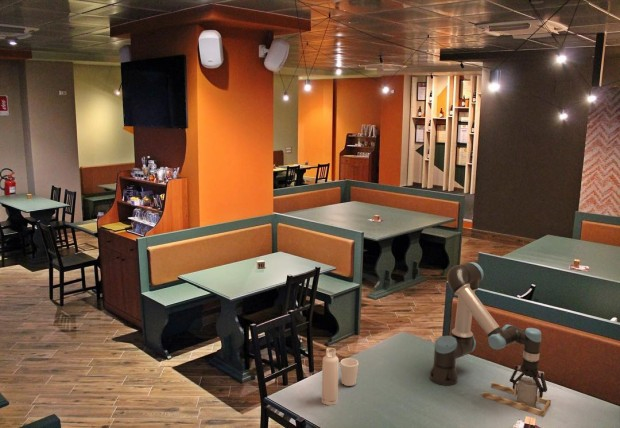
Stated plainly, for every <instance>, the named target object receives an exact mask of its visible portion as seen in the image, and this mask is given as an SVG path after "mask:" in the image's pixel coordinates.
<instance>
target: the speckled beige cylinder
mask: <svg viewBox="0 0 620 428" xmlns="http://www.w3.org/2000/svg"><path fill="white" fill-rule="evenodd" d="M517 383H518V389H517V395H516V400H515V402H518V403H521V402H522V403H525V405H527V406H530V407H533V408H536V407H537V402H536V401H537V396H538V391H539V389H538V387H537V385H536V383H535V381H534V380H533V378H531V377H529V376H523V377H521V378H520V379H519V380H518V381H517Z"/></svg>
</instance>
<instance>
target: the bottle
mask: <svg viewBox="0 0 620 428" xmlns="http://www.w3.org/2000/svg"><path fill="white" fill-rule="evenodd" d="M330 350H333V351H330ZM325 352H326V353H325V355H324V356H323V358H322V370H321V371H322V372H321V375H322V376H321V379H322V380H321V403H322V402H323V403H324V405H325V404H326V406H334V405H333V404H335V405H336V404H338V399H339V398H338V397H339V395H338V394H339V365H340V359H339V357H338V356H337V355H336V354H337V352H336V348H334V347H327V348H326V350H325ZM323 403H322V404H323Z"/></svg>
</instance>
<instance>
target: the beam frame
mask: <svg viewBox="0 0 620 428" xmlns="http://www.w3.org/2000/svg"><path fill="white" fill-rule="evenodd" d="M490 387H491V388H493V389H496V390H499V391H502V392H505V393H509V394H512V395H514V389H513V387H510V386H506V385H503V384H500V383H497V382H494V381H491V386H490ZM482 398H486V399H488V400H492V401H495V402H497V403H500V404H504V405H507V406H510V407H512V408H515V409H519V410H522V411H525V412H528V413H531V414H534V415H537V416H539V417H542V418H544V417H545V414H546V413H547V412H548V410H549V408H550V406H551V402H552V400H551V399H548V398H544V397H542V398H540V402H539V404H543V405H544V406H543V408H541V409H539V408H536V407H535V408H533V407H530V406H527V405H525V403H522V402H521V403H518V402H516V400H515V401H514V400H512V399H509V398H505V397H502V396H499V395H497V394H493V393H490V392H487V391H483V392H482ZM536 403H537V401H536Z"/></svg>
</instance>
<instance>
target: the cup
mask: <svg viewBox="0 0 620 428" xmlns="http://www.w3.org/2000/svg"><path fill="white" fill-rule="evenodd" d="M359 363H360V362H359V361H358V360H357V359H356V358H352V357H350V358H349V357H347V358H343V359H341V360H339V364H340V373H341V385H343V384H344V386H345V387H346V386H347V387H354V386H355V385H356V383H357V377H358V370H359ZM347 387H346V388H347Z"/></svg>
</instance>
